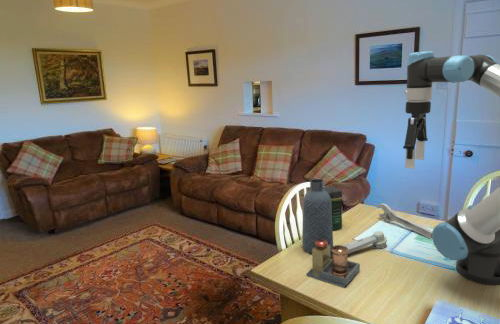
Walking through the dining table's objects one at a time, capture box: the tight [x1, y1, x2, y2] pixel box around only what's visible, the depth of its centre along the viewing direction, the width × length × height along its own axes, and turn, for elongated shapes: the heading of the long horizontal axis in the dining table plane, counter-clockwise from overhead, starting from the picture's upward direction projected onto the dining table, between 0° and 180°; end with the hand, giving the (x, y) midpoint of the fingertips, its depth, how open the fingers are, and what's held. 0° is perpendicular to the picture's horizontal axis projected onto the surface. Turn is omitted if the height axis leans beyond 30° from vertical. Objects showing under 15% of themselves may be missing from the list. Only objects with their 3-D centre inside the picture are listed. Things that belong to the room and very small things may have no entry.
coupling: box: [331, 244, 349, 277], centre depth 125 cm, size 6×6×9 cm
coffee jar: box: [324, 185, 343, 231], centre depth 163 cm, size 10×8×19 cm
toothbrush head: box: [330, 230, 388, 259], centre depth 141 cm, size 5×7×25 cm
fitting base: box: [306, 239, 361, 289], centre depth 126 cm, size 14×13×11 cm
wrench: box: [376, 202, 433, 241], centre depth 159 cm, size 8×2×30 cm
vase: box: [301, 178, 334, 255], centre depth 143 cm, size 12×12×28 cm
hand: (414, 163), depth 124 cm, fingers open, 13 cm apart
